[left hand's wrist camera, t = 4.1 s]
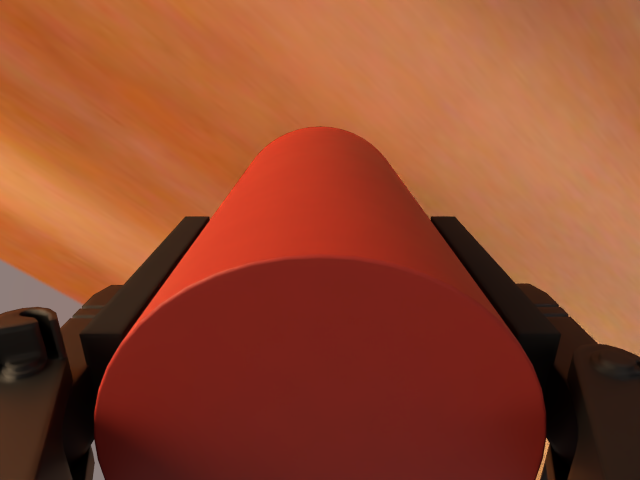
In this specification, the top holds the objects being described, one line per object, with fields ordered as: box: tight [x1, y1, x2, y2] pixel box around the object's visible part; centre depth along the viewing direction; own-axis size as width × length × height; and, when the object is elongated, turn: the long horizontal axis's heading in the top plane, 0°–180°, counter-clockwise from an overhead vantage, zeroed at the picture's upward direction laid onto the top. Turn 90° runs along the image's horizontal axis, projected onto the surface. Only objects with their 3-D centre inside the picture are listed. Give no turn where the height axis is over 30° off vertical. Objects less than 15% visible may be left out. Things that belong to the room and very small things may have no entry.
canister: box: [94, 127, 546, 480], centre depth 13 cm, size 7×7×13 cm
